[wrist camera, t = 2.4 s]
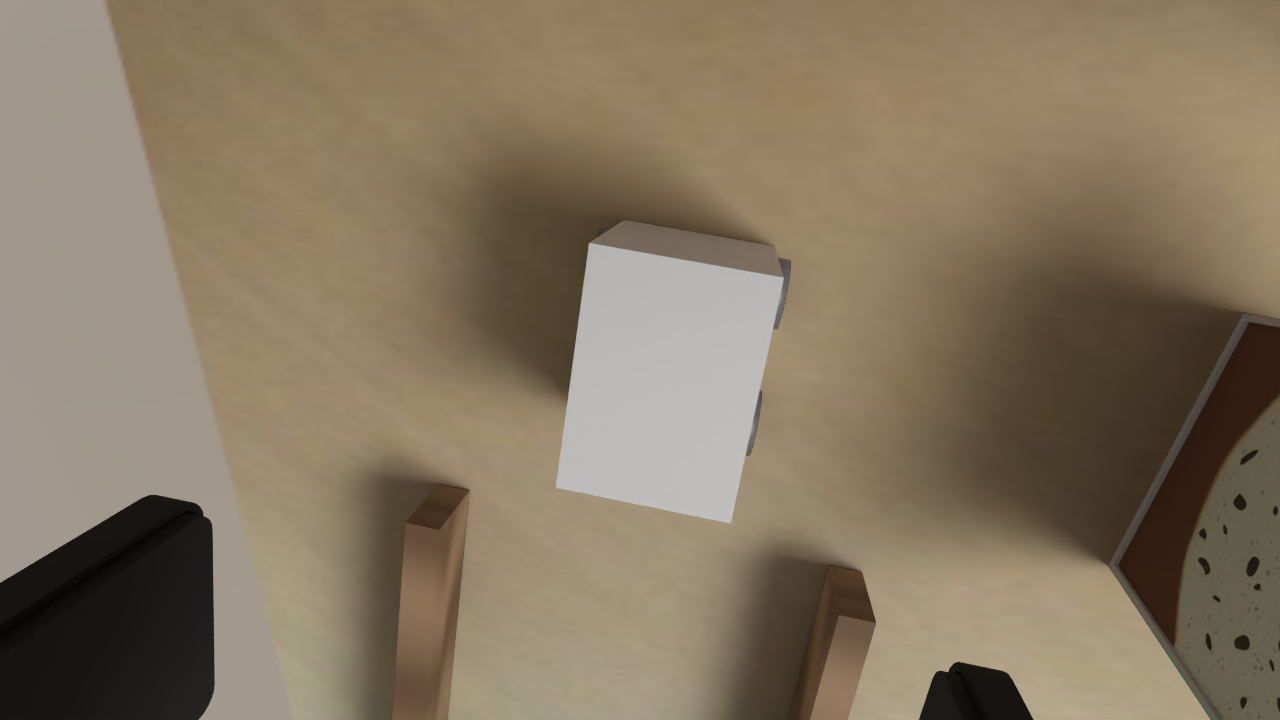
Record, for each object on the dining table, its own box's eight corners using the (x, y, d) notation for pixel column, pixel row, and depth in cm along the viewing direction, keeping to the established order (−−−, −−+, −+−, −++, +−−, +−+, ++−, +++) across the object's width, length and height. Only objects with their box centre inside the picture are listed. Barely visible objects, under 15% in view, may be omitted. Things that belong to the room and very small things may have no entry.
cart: (609, 217, 25) (569, 239, 19) (789, 248, 24) (804, 281, 19) (581, 411, 27) (538, 484, 21) (746, 443, 26) (748, 527, 21)
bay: (439, 484, 28) (405, 522, 25) (862, 572, 27) (876, 623, 24) (416, 756, 32) (385, 816, 29) (784, 844, 31) (788, 915, 28)
